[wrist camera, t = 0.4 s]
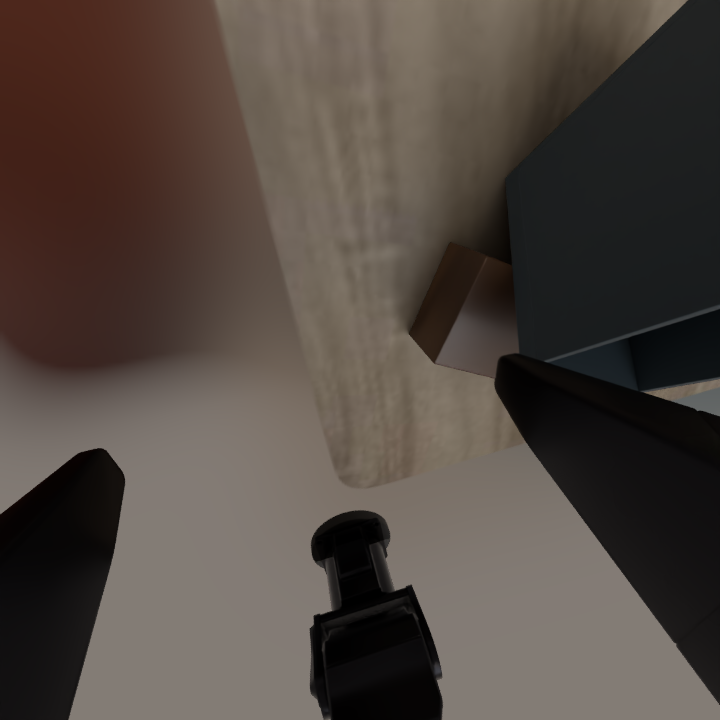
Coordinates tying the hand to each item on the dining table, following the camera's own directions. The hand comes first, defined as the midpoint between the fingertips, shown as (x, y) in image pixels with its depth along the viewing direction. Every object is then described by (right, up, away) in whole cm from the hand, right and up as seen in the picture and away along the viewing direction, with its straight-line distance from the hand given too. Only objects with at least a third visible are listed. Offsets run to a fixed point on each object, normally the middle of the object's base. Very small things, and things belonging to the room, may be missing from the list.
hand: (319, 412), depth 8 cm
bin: (+12, +10, +12) cm, 20 cm away
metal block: (+10, +4, +15) cm, 18 cm away
